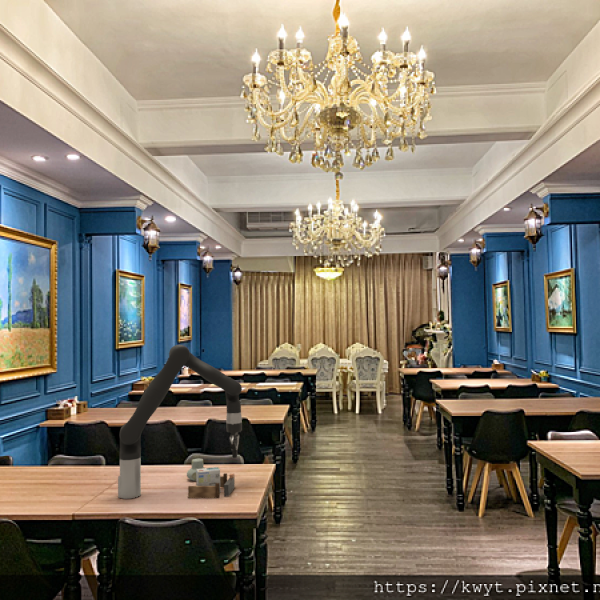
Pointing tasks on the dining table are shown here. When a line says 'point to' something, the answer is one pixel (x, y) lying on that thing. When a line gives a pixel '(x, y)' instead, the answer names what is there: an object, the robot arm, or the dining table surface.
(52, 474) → the dining table surface
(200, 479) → the light bulb box
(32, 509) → the dining table surface
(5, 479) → the dining table surface
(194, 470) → the air freshener
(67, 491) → the dining table surface
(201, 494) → the rails
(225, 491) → the bar
